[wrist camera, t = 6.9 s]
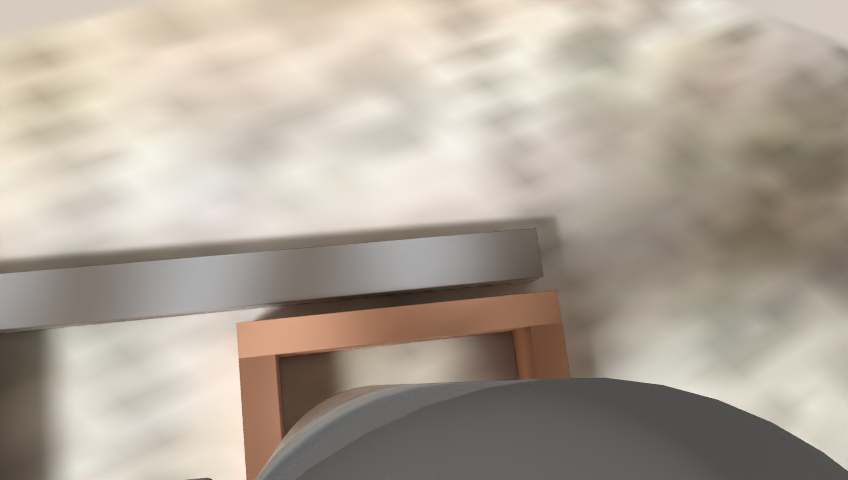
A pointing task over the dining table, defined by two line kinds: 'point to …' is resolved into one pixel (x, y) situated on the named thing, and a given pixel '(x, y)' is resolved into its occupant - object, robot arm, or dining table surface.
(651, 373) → the dining table surface
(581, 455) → the grey peg
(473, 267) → the socket rail
